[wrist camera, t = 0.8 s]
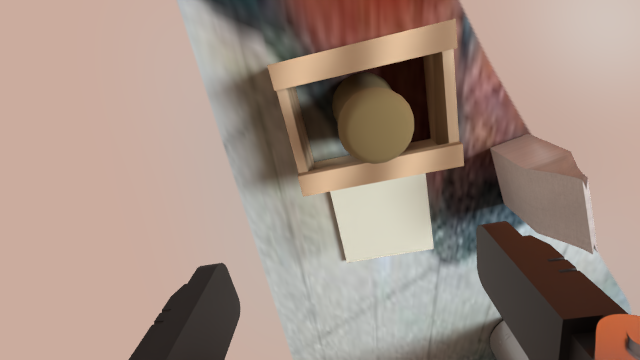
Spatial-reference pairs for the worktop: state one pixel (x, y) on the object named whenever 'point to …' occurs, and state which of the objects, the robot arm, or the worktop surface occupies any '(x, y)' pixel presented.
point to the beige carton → (546, 189)
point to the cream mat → (384, 218)
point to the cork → (372, 118)
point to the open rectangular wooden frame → (361, 56)
